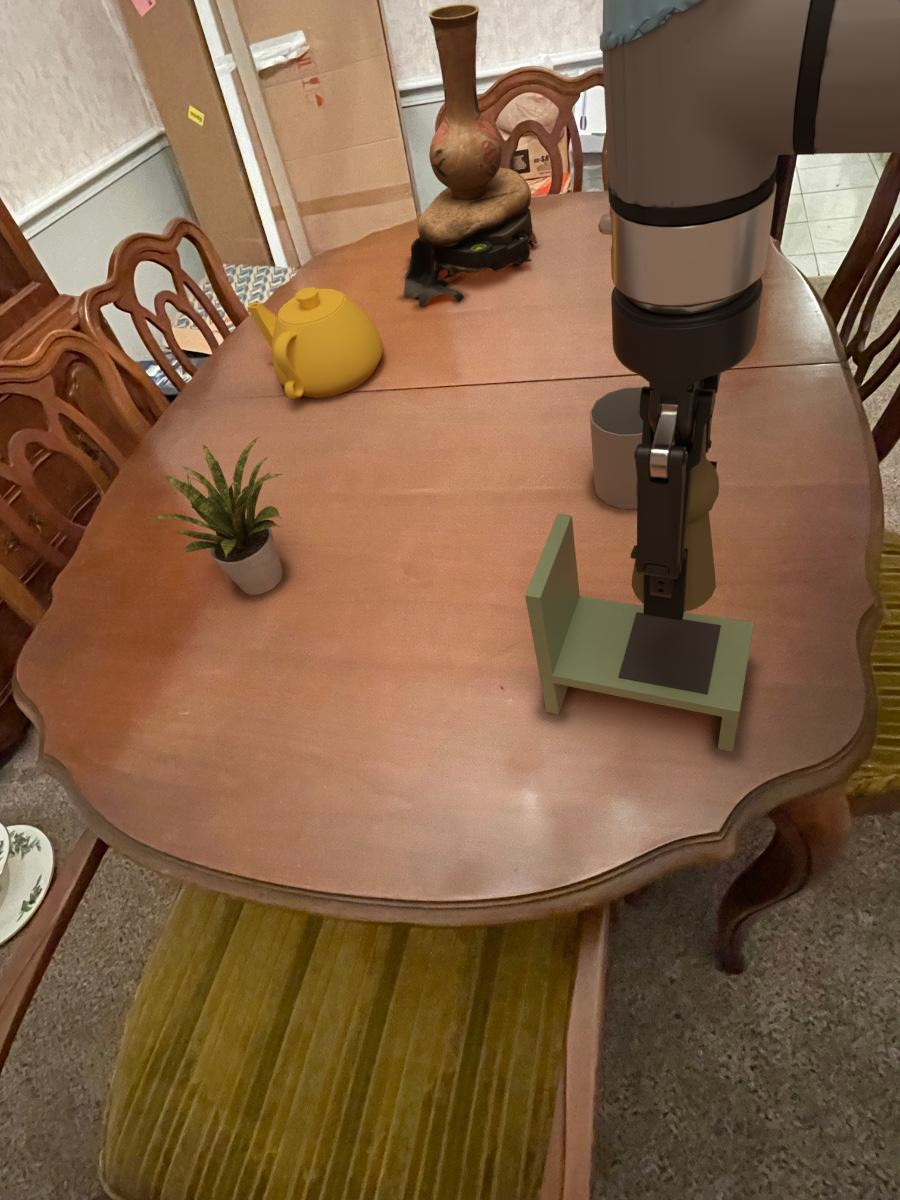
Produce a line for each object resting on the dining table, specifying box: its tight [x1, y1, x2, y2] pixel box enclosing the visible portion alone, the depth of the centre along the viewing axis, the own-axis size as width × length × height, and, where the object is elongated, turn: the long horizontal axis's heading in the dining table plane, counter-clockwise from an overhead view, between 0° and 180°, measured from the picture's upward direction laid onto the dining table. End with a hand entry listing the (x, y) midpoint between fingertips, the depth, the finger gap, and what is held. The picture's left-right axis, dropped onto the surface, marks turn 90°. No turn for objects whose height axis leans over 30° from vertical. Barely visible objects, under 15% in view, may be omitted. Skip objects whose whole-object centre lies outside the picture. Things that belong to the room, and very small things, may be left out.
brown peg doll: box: [631, 456, 720, 612], centre depth 52 cm, size 6×6×11 cm
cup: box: [589, 386, 655, 510], centre depth 82 cm, size 8×8×10 cm
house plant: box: [147, 435, 285, 596], centre depth 81 cm, size 14×14×16 cm
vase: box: [403, 3, 538, 308], centre depth 116 cm, size 24×22×35 cm
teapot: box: [246, 286, 384, 400], centre depth 110 cm, size 20×19×13 cm
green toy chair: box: [524, 513, 755, 753], centre depth 62 cm, size 16×9×16 cm, turn 69°
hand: (672, 578), depth 56 cm, fingers closed on brown peg doll, 6 cm apart
